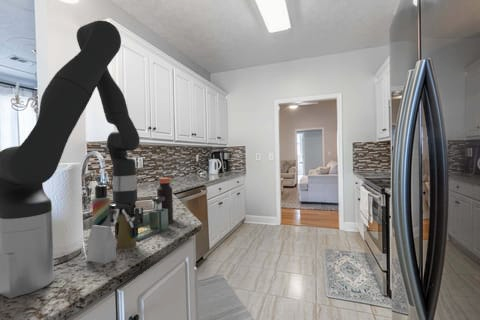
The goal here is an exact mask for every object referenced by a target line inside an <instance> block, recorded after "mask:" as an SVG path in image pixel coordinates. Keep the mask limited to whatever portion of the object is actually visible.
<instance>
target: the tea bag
mask: <svg viewBox="0 0 480 320" xmlns="http://www.w3.org/2000/svg"><path fill="white" fill-rule="evenodd" d="M86 243H87V244H86V245H87V246H86V247H87V249H86V251H87V262H93V263H98V264H104V265H106V264H108V263H110V262H112V261H115V259H116V258H117V251H116V249H117V242H116V237H115V234H114V233H113V231H112V226H111V227H106V226H98V225H93V224H92V225H91V228H90V232H89V235H88V237H87V240H86Z"/></svg>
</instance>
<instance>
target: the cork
mask: <svg viewBox="0 0 480 320" xmlns="http://www.w3.org/2000/svg"><path fill="white" fill-rule="evenodd" d="M133 217H134V216H131V217H130V218H133ZM117 220H118V223H119V230H118V237H117V240H116V248H118V249H126V248H127V249H128V248H131V247H133V246H136V244H137V241H136V239H135V238H131V225H130V223H129V222H127V220H126V217H125V215H124V214H119V215H118V217H117Z"/></svg>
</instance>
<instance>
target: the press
mask: <svg viewBox="0 0 480 320" xmlns="http://www.w3.org/2000/svg"><path fill="white" fill-rule="evenodd" d="M138 222H139V219H138ZM133 223H135V222H134V221H133ZM169 228H170V225H169V222H168V209H163V208H162V211H156V208H154V209H150V210H148V212H147V213H143V224H142V225H139V226H138V236H137V237H136V238H135V239H136V242H139V241H141V240H143V239H146V238H148V237H151V236H152V235H153V236H154V235H155V234H157V233H160V232H163V230H164V231H165V230H168V229H169ZM114 237H115V238H118V235H115V234H114Z"/></svg>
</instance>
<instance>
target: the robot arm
mask: <svg viewBox="0 0 480 320" xmlns="http://www.w3.org/2000/svg"><path fill="white" fill-rule="evenodd" d="M76 42H77V44H78V47H79V49H80V51H79V52H78V53H77V54H76V55H75V56H74V57H73V58H72V59H70V60H68V62H66V63H65V64H64V65H63V66H62V67H61V68H60V69H58V71H57V72H56V73H55V74H54V75H53V77H52V78H51V80H50V81H49V83H48V85H47V86H46V87H45V89H44V91H43V94H42V96H41V99H40V105H39V111H38V118H37V121H36V123H35V125H34V127H33V128H32V130H31V131H30V132H29V134H28V135H27V137H26V138H25V139H24V140H23V141H22V143H21V144H20V145H16V146H9V147H7V148H5V149H2V150H0V295H1V296H3V297H6V298H8V299H10V300H11V299H13V298H17V297H19V296H24V295H27V294H31V293H34V292H36V291H38V290H42V289H44V288H45V287H47V286H48V285H50V284H51V283H52V282H53V281H54V280H55V266H54V265H55V263H54V261H55V259H54V239H53V236H54V235H53V207H52V206H53V205H52V199H50V198H49V196H48V195H47V194H46V193H45V191H44V183H46V182H47V181H49V180H50V179H51V178H52V177H53V176H54V174H55V173H56V171H57V169H58V166H59V164H60V162H61V159H62V156H63V154H64V151H65V149H66V146H67V143H68V141H69V138H70V136H71V134H73V133H72V132H73V131H74V130H75V127H76V125H77V124H78V121H79V120H80V119H81V116H82V115H83V113H84V111H85V110H86V107H87V106H88V103H89V102H90V100H91V98H92V96H93V94H94V92H95V90H96V89H97V92H98V95H99V98H100V102H101V105H102V110H103V113H104V116H105V120H106V122H107V123H108V124H111V125H114V127H115V128H116V129H117V130H114V131H113V130H112V132H110V133H108V134H109V135H108V136H107V139H106V145H107V151H108V153H109V158H110V161H111V163H112V203H113V204H112V205H111V204H110V206H109V216H110V222H111V223H113V225H114V236H115V235H118V230H119V223H118V220H117V217H118V215H119V214H124V215H125V217H126V220H127V222H129V223H130V225H131V238H136V237H137V236H138V226H139V225H142V224H143V214H144V208H143V206H140V207H138V206H136V205H137V204H136V202H138V180H137V170H136V169H137V168H136V161H135V159H134V158H131V157H129V155H128V153H127V152H130V151H135V150H137V149H138V147H139V146H140V141H141V139H140V135H139V132H138V130H137V129H136V126H135V124H134V122H133V120H132V118H131V117H130V114H129V110H128V106H127V105H128V104H127V101H126V97H125V95H124V93H123V91H122V90H121V88H120V87H119V85H118V84H117V82H116V81H115V80H114V78H113V77H112V75H111V73H110V71H109V68H108V67H109V65H110V63H111V62H112V61H113V60H114V58H115V57H116V56H117V54H118V52H119V51H120V49H121V46H122V37H121V34H120V32H119V30H118V28H117V27H116V26H115V25H114V24H113V23H111V22H110V21H107V20H95V21H91V22H89V23H86V24H84V25H82V26H80V27H79V28H78V29H77V30H76ZM131 216H134V217H133V218H130V217H131ZM138 219H139V222H138ZM133 221H134V222H135V223H133Z"/></svg>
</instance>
